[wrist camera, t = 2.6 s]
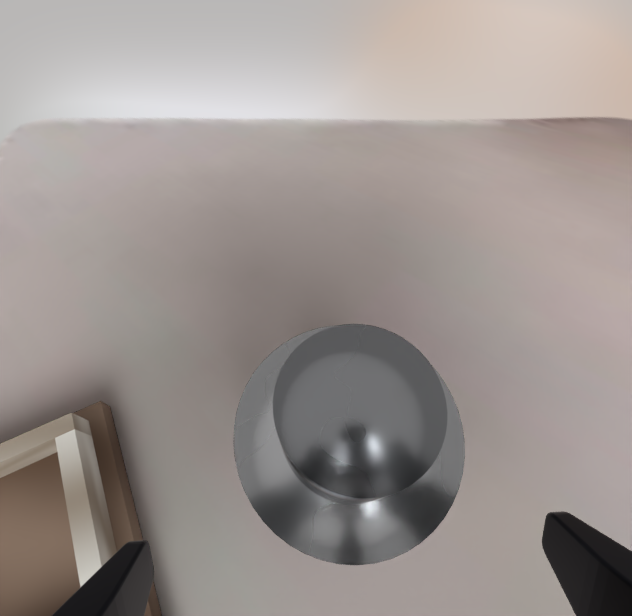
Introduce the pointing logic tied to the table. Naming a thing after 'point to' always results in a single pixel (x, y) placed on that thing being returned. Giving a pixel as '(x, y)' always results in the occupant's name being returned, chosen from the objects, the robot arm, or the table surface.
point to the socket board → (62, 511)
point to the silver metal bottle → (349, 444)
